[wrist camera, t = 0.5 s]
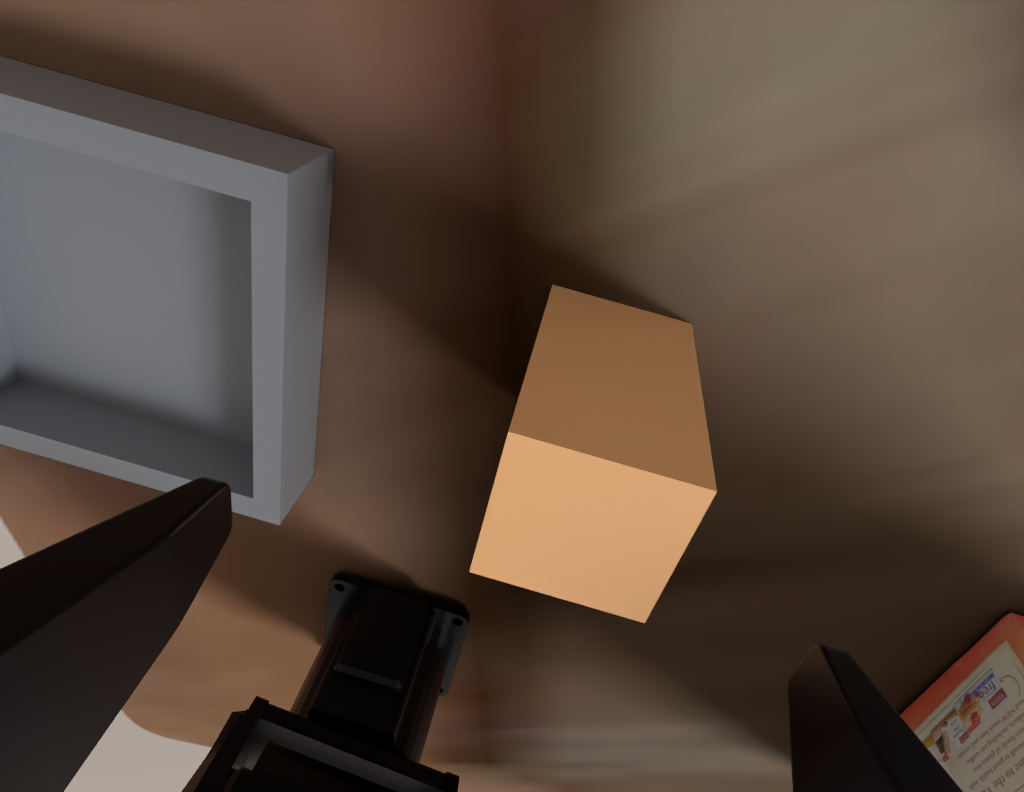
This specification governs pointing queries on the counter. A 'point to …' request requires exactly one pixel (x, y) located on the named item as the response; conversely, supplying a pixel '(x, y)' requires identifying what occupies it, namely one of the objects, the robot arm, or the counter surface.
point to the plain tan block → (601, 459)
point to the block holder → (160, 289)
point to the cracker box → (978, 713)
